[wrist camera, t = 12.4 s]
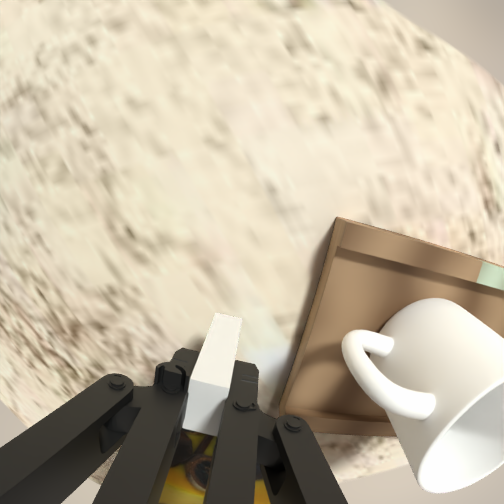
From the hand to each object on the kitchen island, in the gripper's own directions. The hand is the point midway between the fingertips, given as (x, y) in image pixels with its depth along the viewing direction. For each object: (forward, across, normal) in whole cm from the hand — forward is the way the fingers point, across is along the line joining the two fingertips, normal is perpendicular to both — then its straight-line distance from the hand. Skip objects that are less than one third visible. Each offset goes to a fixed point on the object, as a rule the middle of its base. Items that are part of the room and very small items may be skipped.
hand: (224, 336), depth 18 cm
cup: (+3, +12, +1) cm, 12 cm away
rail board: (+5, +16, 0) cm, 16 cm away
